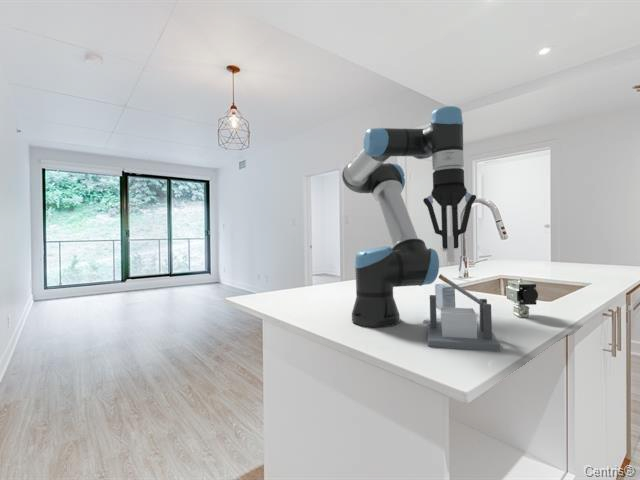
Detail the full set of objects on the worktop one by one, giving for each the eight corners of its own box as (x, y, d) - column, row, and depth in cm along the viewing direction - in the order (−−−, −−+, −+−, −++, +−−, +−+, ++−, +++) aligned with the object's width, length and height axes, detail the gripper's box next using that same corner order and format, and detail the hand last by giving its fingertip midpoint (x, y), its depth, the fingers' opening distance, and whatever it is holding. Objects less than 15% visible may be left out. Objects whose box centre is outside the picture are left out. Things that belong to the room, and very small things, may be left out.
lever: (438, 279, 86) (441, 275, 86) (437, 277, 90) (440, 272, 90) (487, 311, 83) (491, 307, 83) (484, 307, 87) (487, 303, 87)
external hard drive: (458, 318, 110) (450, 328, 99) (432, 315, 114) (422, 324, 103) (458, 313, 110) (450, 322, 99) (432, 310, 114) (422, 319, 103)
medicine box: (456, 312, 115) (455, 286, 115) (442, 312, 115) (442, 287, 115) (447, 306, 123) (446, 283, 123) (435, 307, 123) (434, 283, 123)
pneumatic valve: (520, 311, 112) (519, 275, 112) (539, 321, 101) (538, 281, 100) (502, 311, 113) (501, 276, 113) (519, 321, 101) (519, 281, 101)
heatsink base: (428, 346, 83) (427, 304, 83) (427, 329, 96) (426, 293, 96) (500, 351, 78) (499, 306, 78) (489, 332, 91) (488, 294, 91)
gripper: (421, 169, 85) (424, 263, 85) (477, 164, 81) (480, 262, 81) (421, 174, 92) (424, 260, 92) (473, 170, 88) (476, 259, 88)
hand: (450, 261), depth 87 cm, fingers closed
